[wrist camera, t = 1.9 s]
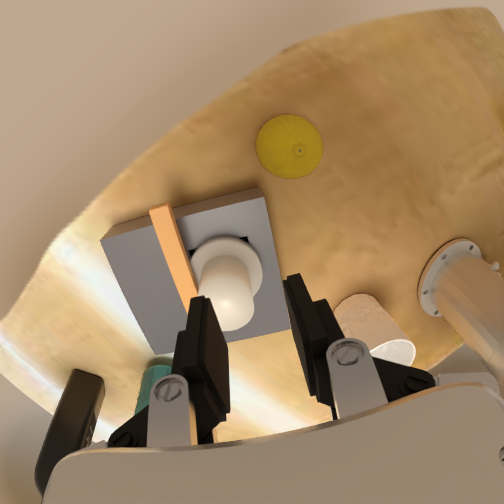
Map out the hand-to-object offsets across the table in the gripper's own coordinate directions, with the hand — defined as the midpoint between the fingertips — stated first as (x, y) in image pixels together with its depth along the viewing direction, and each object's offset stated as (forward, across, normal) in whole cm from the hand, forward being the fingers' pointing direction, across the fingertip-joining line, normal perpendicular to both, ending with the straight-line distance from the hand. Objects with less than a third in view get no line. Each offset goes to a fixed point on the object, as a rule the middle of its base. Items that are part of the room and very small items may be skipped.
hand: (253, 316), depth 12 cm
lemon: (+19, -5, -4) cm, 21 cm away
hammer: (+15, +6, +5) cm, 17 cm away
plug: (+19, +3, +6) cm, 20 cm away
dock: (+19, +6, +7) cm, 21 cm away
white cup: (+19, -11, +18) cm, 29 cm away
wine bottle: (+19, +31, +22) cm, 43 cm away
